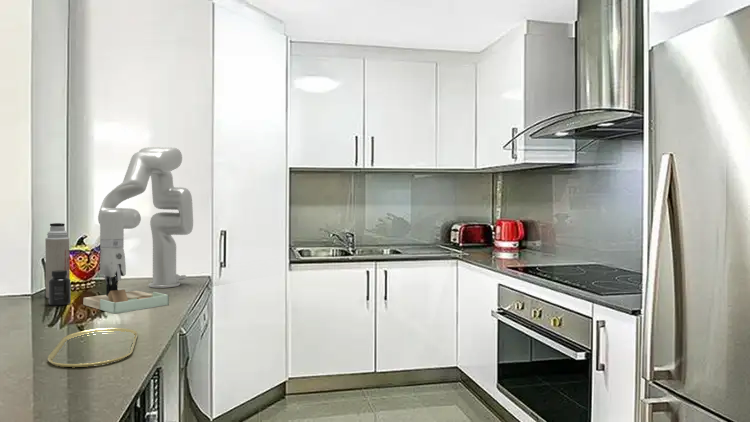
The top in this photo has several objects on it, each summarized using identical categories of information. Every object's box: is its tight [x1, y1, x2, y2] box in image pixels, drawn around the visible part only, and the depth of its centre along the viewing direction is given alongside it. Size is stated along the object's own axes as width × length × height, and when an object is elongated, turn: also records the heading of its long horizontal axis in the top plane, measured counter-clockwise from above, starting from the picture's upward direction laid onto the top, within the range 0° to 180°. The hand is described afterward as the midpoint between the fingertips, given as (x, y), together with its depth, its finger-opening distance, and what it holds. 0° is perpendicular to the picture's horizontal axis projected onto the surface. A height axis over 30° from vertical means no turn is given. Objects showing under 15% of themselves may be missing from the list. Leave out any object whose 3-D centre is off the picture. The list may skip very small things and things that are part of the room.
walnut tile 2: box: [108, 289, 128, 303], centre depth 196 cm, size 5×5×2 cm
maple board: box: [82, 290, 153, 310], centre depth 204 cm, size 20×12×2 cm, turn 142°
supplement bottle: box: [48, 270, 72, 307], centre depth 200 cm, size 7×7×12 cm
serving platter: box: [47, 327, 138, 369], centre depth 146 cm, size 19×35×2 cm, turn 19°
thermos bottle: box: [45, 222, 71, 299], centre depth 215 cm, size 8×8×28 cm
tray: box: [99, 291, 170, 314], centre depth 198 cm, size 20×10×4 cm, turn 142°
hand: (111, 295), depth 199 cm, fingers closed
